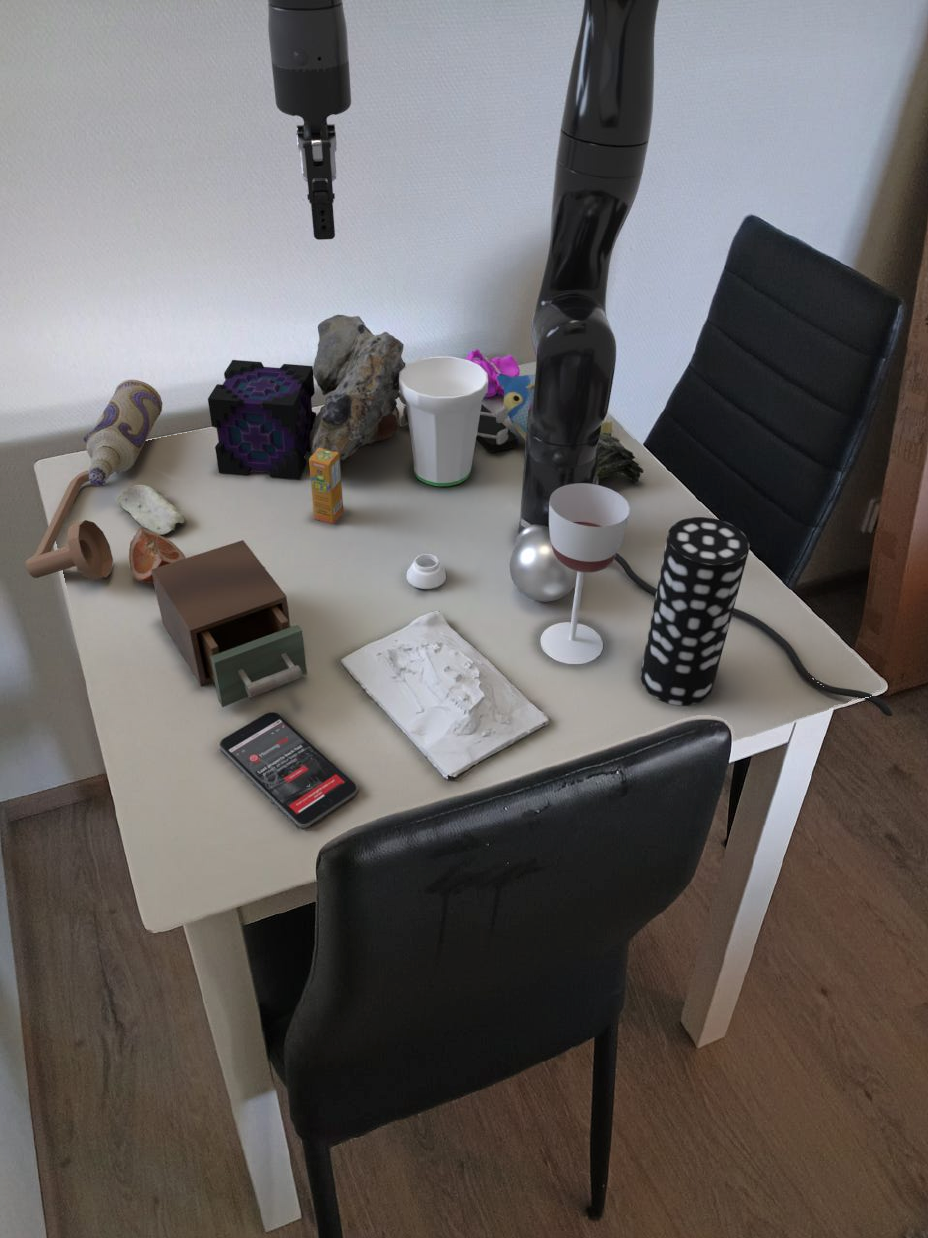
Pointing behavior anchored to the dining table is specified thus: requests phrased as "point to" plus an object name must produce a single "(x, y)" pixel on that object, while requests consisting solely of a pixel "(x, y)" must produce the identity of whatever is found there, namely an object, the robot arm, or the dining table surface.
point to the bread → (387, 426)
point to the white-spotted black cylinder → (693, 609)
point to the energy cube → (263, 419)
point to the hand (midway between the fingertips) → (323, 223)
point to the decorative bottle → (122, 429)
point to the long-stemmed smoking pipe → (73, 543)
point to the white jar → (426, 572)
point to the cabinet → (212, 596)
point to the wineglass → (582, 557)
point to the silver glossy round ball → (539, 566)
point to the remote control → (493, 433)
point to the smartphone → (288, 768)
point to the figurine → (500, 437)
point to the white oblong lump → (150, 509)
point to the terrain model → (443, 694)
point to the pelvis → (495, 370)
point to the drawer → (252, 654)
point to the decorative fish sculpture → (524, 400)
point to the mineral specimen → (615, 459)
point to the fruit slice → (150, 554)
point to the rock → (354, 383)
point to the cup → (443, 416)
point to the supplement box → (326, 485)
